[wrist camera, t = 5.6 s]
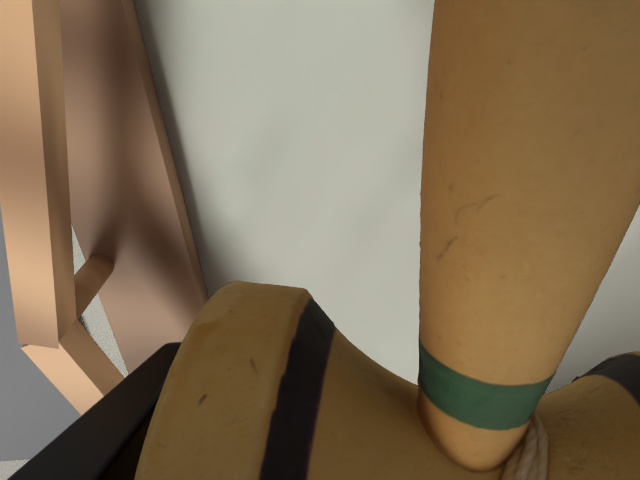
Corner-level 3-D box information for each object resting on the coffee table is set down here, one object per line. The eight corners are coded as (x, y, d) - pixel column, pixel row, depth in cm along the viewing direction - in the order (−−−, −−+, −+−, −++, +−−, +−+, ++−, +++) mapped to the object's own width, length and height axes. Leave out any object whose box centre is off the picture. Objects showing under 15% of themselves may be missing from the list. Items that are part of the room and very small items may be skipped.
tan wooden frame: (243, 427, 24) (223, 541, 19) (161, 433, 24) (121, 547, 19) (121, -61, 14) (16, -85, 9) (-14, -45, 15) (-185, -60, 10)
